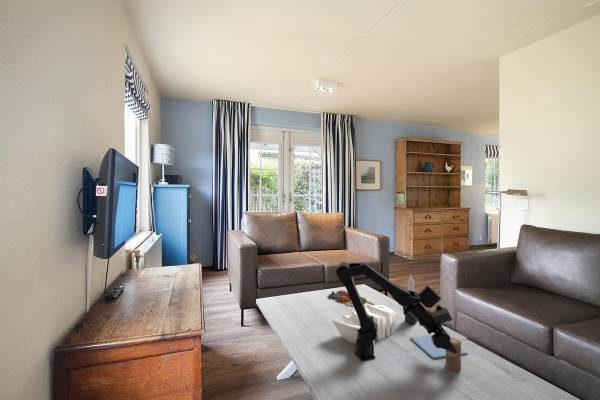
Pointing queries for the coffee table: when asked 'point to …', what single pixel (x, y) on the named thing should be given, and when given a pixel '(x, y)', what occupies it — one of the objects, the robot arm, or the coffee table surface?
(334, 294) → the gear puzzle
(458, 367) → the walnut pillar
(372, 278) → the robot arm
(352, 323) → the wavy white extrusion
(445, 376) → the coffee table surface
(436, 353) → the blue mat
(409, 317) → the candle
